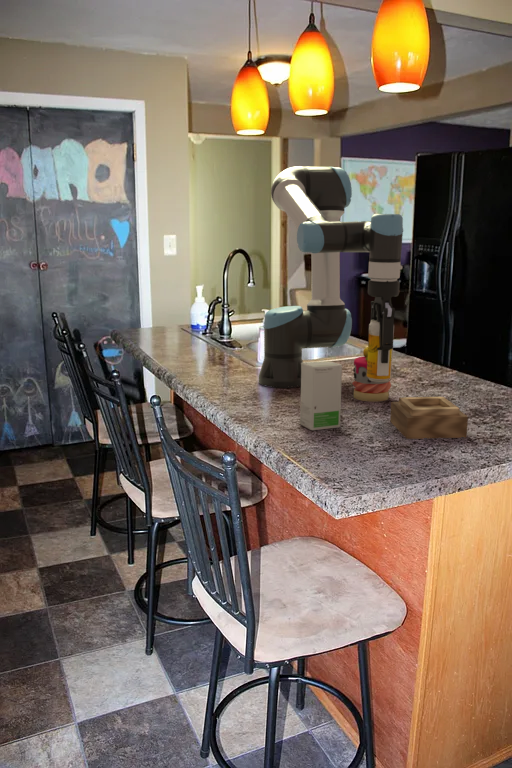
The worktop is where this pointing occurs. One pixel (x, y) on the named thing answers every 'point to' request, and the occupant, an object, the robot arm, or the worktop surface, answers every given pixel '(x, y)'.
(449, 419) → the stand
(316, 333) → the robot arm
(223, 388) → the worktop surface
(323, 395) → the skincare box
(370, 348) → the beer can
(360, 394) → the cake
